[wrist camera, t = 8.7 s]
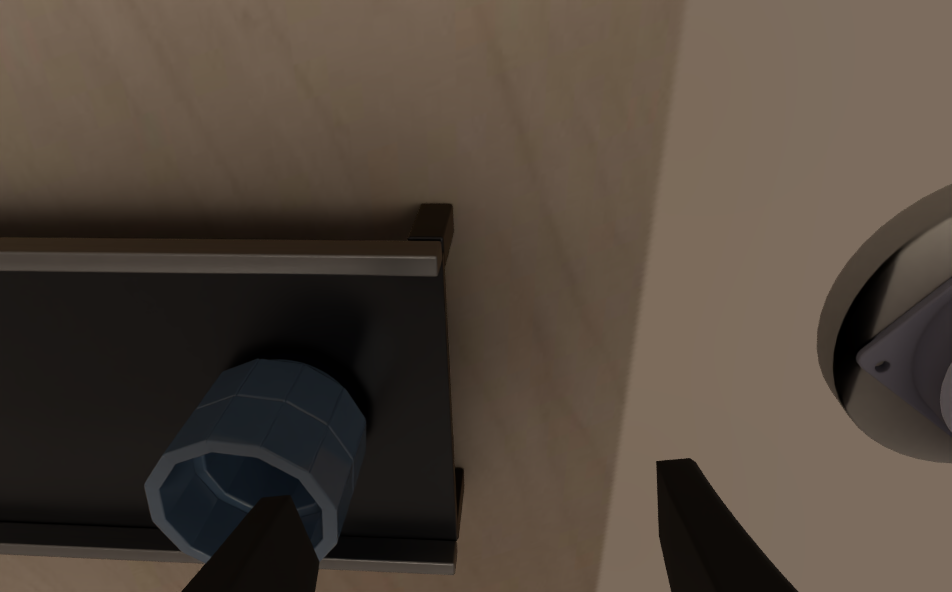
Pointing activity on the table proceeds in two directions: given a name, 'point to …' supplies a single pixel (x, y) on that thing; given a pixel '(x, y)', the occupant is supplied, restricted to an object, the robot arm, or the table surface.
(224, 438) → the cup
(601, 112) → the table surface
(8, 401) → the conveyor belt
